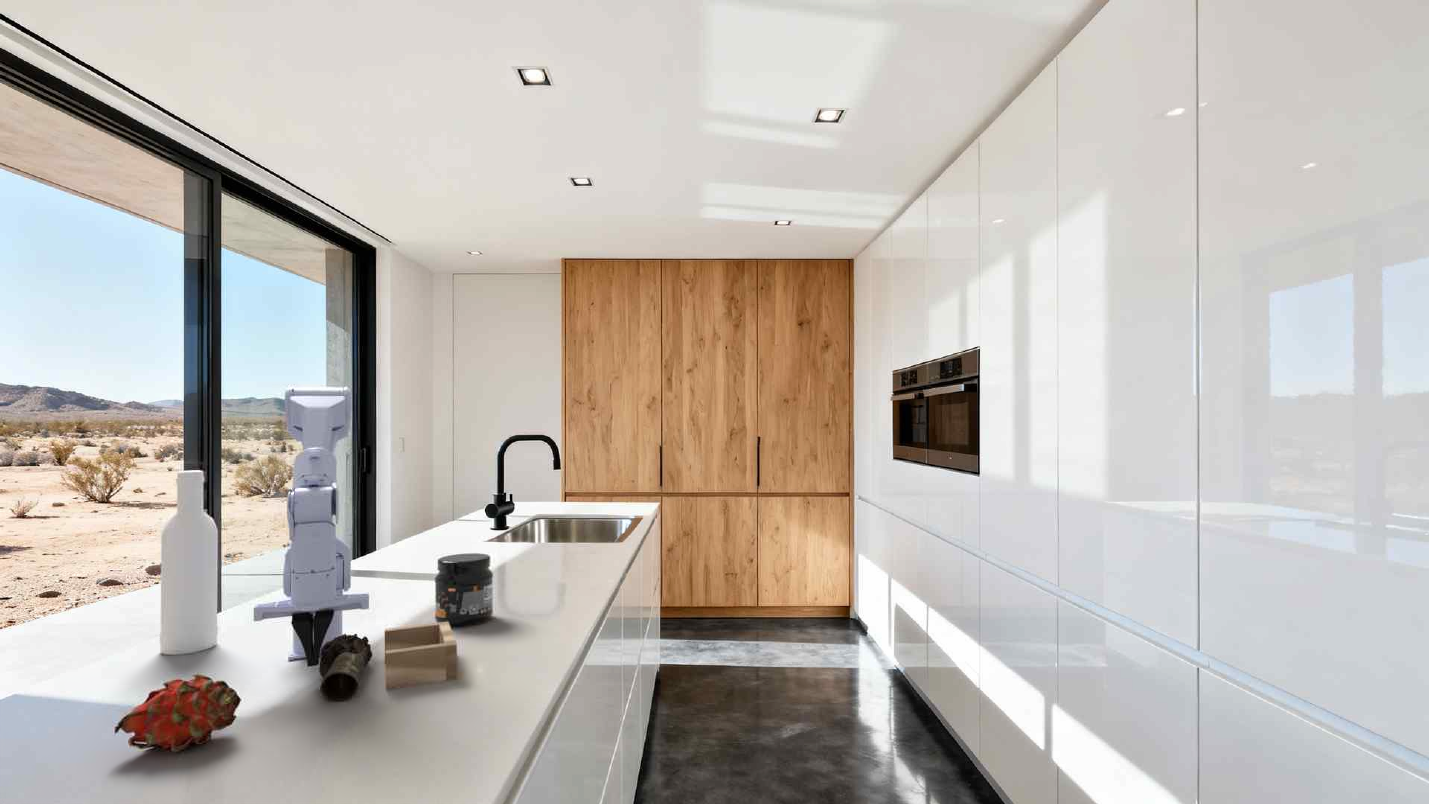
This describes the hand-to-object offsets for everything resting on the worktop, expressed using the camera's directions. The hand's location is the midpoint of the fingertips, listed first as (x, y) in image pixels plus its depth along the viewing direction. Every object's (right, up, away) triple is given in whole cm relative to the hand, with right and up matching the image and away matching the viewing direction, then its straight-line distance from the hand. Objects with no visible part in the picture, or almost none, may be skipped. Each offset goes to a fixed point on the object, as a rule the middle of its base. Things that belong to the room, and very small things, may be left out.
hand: (313, 664), depth 105 cm
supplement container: (+10, -4, +33) cm, 35 cm away
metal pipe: (+4, -3, +1) cm, 5 cm away
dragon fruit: (-5, -3, -20) cm, 21 cm away
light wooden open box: (+12, -3, +6) cm, 14 cm away
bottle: (-31, -4, +18) cm, 37 cm away
